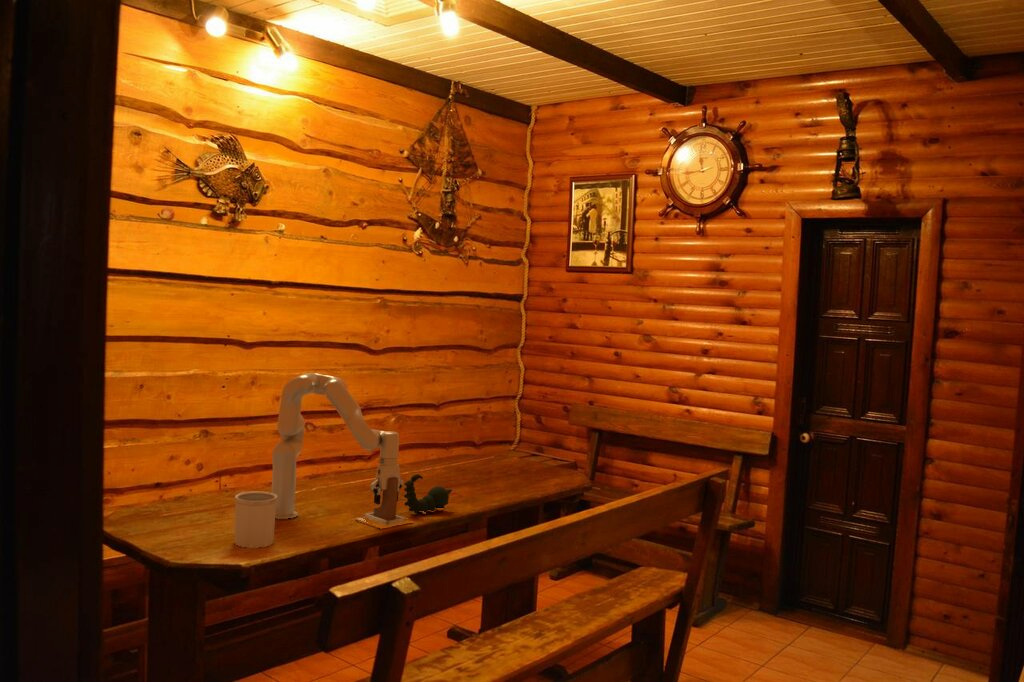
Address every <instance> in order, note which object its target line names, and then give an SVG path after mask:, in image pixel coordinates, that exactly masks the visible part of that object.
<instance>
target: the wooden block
mask: <svg viewBox="0 0 1024 682" xmlns="http://www.w3.org/2000/svg"><path fill="white" fill-rule="evenodd" d="M397 493H398V478H396V477H395V478H389V479H388V489H387V490H382V496H381V497H382V501H381V503H380V505H379V506H375V507H374V508H373V512H374V516H375V517H378V518H381V519H384V520H387V521H390V520H395V519H396V515H397V505H398V501H397ZM398 494H399V493H398Z"/></svg>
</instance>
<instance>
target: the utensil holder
mask: <svg viewBox="0 0 1024 682" xmlns="http://www.w3.org/2000/svg"><path fill="white" fill-rule="evenodd" d="M234 501H235V506H234V510H235V511H234V512H235V513H234V544H235V546H237V545H238V547H239V546H241V547H240V548H244V547H247V548H246V549H260V548H259V547H262V548H266V547H270V546H271V545H273V544H274V537H275V529H276V528H275V527H276V519H275V513H276V501H277V495H276V494H274V493H271V492H269V491H259V490H258V491H257V490H256V491H253V490H252V491H243V492H240V493H239V492H238V493H237V494H235V495H234Z"/></svg>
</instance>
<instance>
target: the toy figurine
mask: <svg viewBox="0 0 1024 682" xmlns="http://www.w3.org/2000/svg"><path fill="white" fill-rule="evenodd" d="M419 479H421V480H423V475H421V474H414V475H412V476H411V478H410V480H407V481H406V482H404V483H403V485H404V486H406V487H404V489H403V490H404V492H405V494H404V495H403V497H404V498H405V499H406V501H405V502H404V506H405V507H408V511H409V512H410V511H412V512H413V513H414V512H415V513H417V514H419V511H424V512H426V511H427V510H431V511H434V510H435V511H437V509H436V508H444V509H445V506H447V505H448V504H449V499H450V496H449V495H450V494H451V492H452V491H453V489H446V488H444V487H443V486H441V485H440V486H434V487H432V488H431V489H429V491H428V492H427V495H424V496H423V497H422V498H420V499H418V498H417V494H416V492H415V491H416V487H415V482H416V481H418V480H419ZM427 512H428V511H427ZM415 513H414V514H415Z"/></svg>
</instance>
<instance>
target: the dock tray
mask: <svg viewBox="0 0 1024 682" xmlns="http://www.w3.org/2000/svg"><path fill="white" fill-rule="evenodd" d="M363 517H364V518H368V519H370V520H374V521H377V522H380V523H383V524H386V525H390V524H395V523H400V522H404V521H406V518H407V517H403V516H400V515H397V514H396V519H395V520H390V521H387V520H384V519H381V518H378V517H375V516H374V511H373V512H367V513H364V514H363ZM355 519H358V520H361V521H364V520H365V519H363V518H361V517H356V518H355ZM364 522H366V520H365V521H364ZM367 523H368V522H367ZM374 525H375V524H374ZM376 526H377V525H376Z"/></svg>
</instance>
